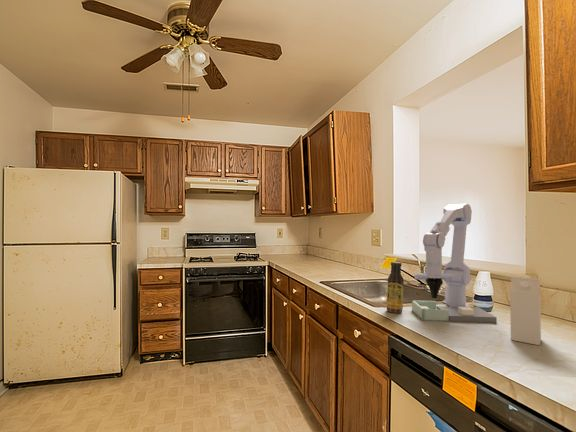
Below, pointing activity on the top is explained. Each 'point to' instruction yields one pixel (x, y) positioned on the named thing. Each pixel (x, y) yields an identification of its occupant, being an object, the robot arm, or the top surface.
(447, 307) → the board
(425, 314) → the tray
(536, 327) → the milk carton
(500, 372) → the top surface
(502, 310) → the top surface
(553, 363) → the top surface
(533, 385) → the top surface
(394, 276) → the sauce bottle
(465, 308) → the tile
